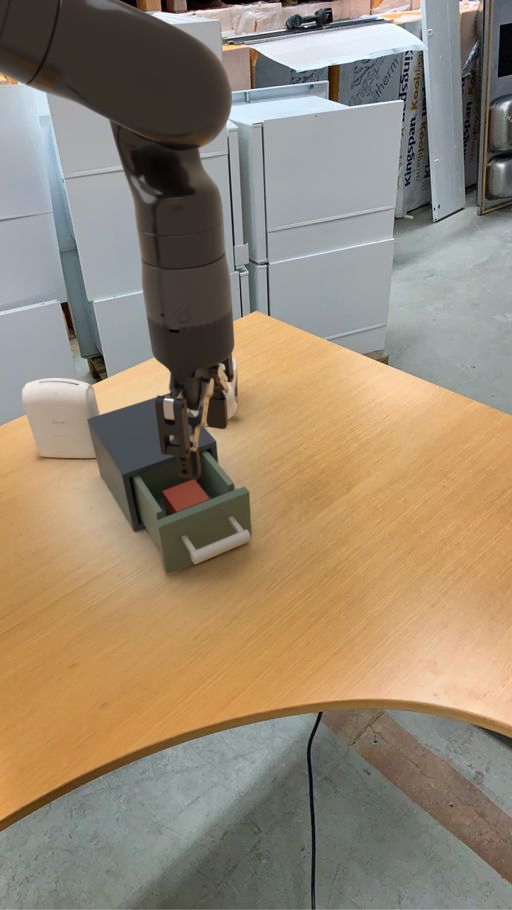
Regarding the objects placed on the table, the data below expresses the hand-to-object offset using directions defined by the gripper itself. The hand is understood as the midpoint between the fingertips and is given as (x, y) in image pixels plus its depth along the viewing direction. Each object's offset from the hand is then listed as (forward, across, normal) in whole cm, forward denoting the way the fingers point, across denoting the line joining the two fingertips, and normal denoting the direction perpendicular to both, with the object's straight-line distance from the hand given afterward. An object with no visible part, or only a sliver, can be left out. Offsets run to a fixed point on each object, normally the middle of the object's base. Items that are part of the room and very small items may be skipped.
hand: (204, 450), depth 67 cm
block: (+16, -5, -5) cm, 18 cm away
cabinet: (+18, -13, -13) cm, 26 cm away
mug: (+18, -31, -11) cm, 38 cm away
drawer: (+17, -4, -4) cm, 18 cm away
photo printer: (+18, -17, -28) cm, 38 cm away
